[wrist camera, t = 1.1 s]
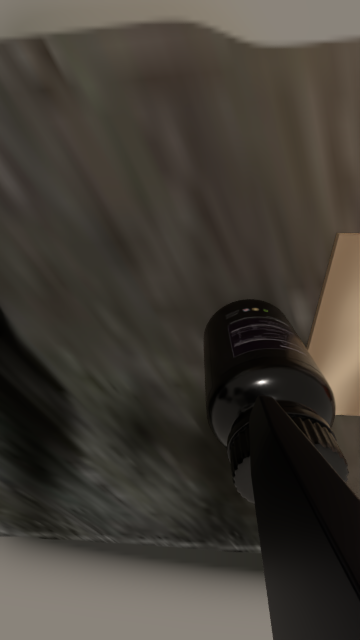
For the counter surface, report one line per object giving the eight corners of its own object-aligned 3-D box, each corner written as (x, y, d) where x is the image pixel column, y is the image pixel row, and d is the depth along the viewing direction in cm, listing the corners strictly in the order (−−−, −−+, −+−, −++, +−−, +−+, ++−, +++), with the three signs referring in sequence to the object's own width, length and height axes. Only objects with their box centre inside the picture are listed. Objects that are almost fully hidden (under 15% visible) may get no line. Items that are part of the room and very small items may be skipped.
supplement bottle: (282, 369, 24) (349, 529, 13) (202, 367, 24) (205, 520, 13) (297, 295, 20) (402, 429, 10) (204, 294, 21) (209, 422, 10)
